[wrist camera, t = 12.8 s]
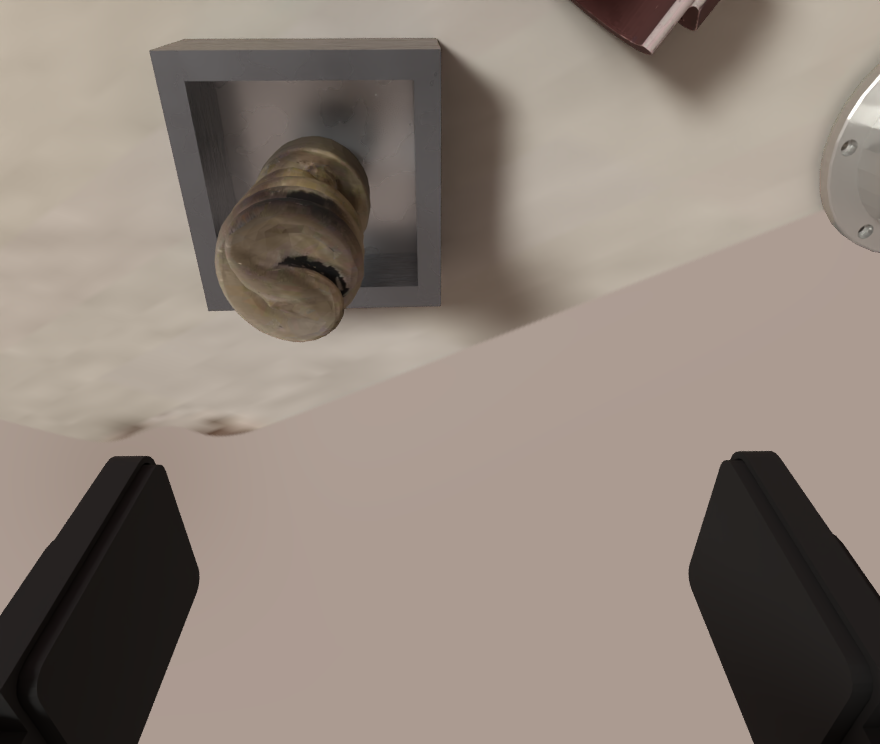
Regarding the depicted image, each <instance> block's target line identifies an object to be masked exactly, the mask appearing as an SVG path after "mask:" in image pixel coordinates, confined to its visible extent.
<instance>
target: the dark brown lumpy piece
mask: <svg viewBox="0 0 880 744" xmlns="http://www.w3.org/2000/svg"><path fill="white" fill-rule="evenodd" d="M571 1H572V2H573V3H574V4H576V5H577V6H578V7H579V8H580V9H582V10H583V11H584V12H585V13H586V14H588V15H589V16H590V17H591V18H593V19H594V20H595V21H596V22H598V23H599V24H600V25H602V26H603V27H604V28H606V29H607V30H608V31H610V32H611V33H612V34H614V35H615V36H616V37H618V38H619V39H621V40H622V41H624V42H625V43H627V44H628V45H630V46H632V47H633V48H635V49H637V50H639V51H640V52H643V53H645V54H648V55H652V54H653V53H654V52H655V50H656V49H657V48H658V46H659V45H660V44H661V43H662V41H663V40H664V39H665V37H666V36H667V35H668V34H669V32H670V31H671V30H672V29H673V27H674V26H675V25H676V23H677V22H678V23H680V24H681V25H683V26H684V27H686V28H688V29H689V30H692V31H696V30H697V28H698V27H699V26H700V25H701V23H702V22H703V21H704V20H705V18H706V17H707V16H708V15H709V13H710V12H711V11H712V10H713V8H714V7H715V6H716V5H717V3H718V2H719V1H720V0H571Z"/></svg>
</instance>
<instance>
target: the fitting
mask: <svg viewBox="0 0 880 744" xmlns="http://www.w3.org/2000/svg"><path fill="white" fill-rule="evenodd" d="M150 56H151V60H152V65H153V69H154V73H155V78H156V82H157V87H158V91H159V95H160V100H161V104H162V109H163V113H164V117H165V122H166V126H167V131H168V135H169V139H170V144H171V148H172V153H173V157H174V161H175V166H176V170H177V175H178V179H179V183H180V188H181V192H182V197H183V201H184V205H185V210H186V214H187V219H188V223H189V227H190V232H191V236H192V240H193V245H194V249H195V254H196V258H197V262H198V267H199V271H200V276H201V280H202V284H203V289H204V293H205V298H206V302H207V306H208V311H231V310H235V309H234V308H233V307H232V306H231V304H230V303H229V301H228V300H227V298H226V297H225V295H224V293H223V291H222V289H221V287H220V284H219V281H218V278H217V274H216V268H215V249H216V243H217V239H218V235H219V231H220V229H221V226H222V224H223V223H224V221H225V220H226V218H227V217H228V215H229V214H230V213H231V211H232V210H233V208H234V206H235V205H236V204H237V203H238V202H239V200H240V199H241V198H242V197H243V196H244V195H245V194H246V193H247V192H248V191H249V190H250V188H251V187H252V186H253V185H254V184H255V183H256V181H257V179H258V176H259V174H260V172H261V170H262V168H263V166H264V164H265V163H266V162H267V161H268V159H269V158H270V157H271V156H272V155H273V154H274V153H275V152H276V151H277V150H278V149H279V148H280V147H281V146H282V145H284V144H286V143H287V142H289V141H292V140H295V139H298V138H301V137H307V136H320V137H325V138H329V139H332V140H334V141H336V142H338V143H339V144H341V145H343V146H345V147H346V148H347V149H349V150H350V151H351V152H352V153H353V154H354V155H355V156H356V157H357V158H358V160H359V162H360V163H361V165H362V166H363V168H364V170H365V172H366V175H367V177H368V182H369V187H370V203H371V206H370V214H369V220H368V225H367V228H366V230H365V232H364V240H363V243H364V249H365V253H364V276H363V280H362V283H361V286H360V288H359V290H358V292H357V294H356V296H355V297H354V299H353V301H352V302H351V304H349V305H348V306H347V307H346V308H371V307H418V306H441V48H440V46H439V44H438V41H437V39H436V38H357V39H183V40H180V41H177V42H174V43H171V44H168V45H165V46H162V47H159V48H156V49H153V50H150Z"/></svg>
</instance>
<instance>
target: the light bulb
mask: <svg viewBox="0 0 880 744" xmlns="http://www.w3.org/2000/svg"><path fill="white" fill-rule="evenodd" d="M370 206H371V203H370V187H369V182H368V177H367V175H366V172H365V170H364V168H363V166H362V165H361V163H360V162H359V160H358V158H357V157H356V156H355V155H354V154H353V153H352V152H351V151H350V150H349V149H347V148H346V147H345V146H343V145H341V144H339V143H338V142H336V141H334V140H332V139H329V138H325V137H320V136H307V137H301V138H298V139H295V140H292V141H289V142H287V143H286V144H284V145H282V146H281V147H280V148H279V149H278V150H277V151H276V152H275V153H274V154H273V155H272V156H271V157H270V158H269V159H268V161H267V162H266V163H265V164H264V166H263V168H262V170H261V172H260V174H259V176H258V179H257V181H256V183H255V184H254V185H253V186H252V187H251V188H250V190H249V191H248V192H247V193H246V194H245V195H244V196H243V197H242V198H241V199H240V200H239V202H238V203H237V204H236V205H235V206H234V208H233V210H232V211H231V213H230V214H229V215H228V217H227V218H226V220H225V221H224V223H223V224H222V226H221V229H220V231H219V235H218V239H217V243H216V249H215V268H216V274H217V278H218V281H219V284H220V287H221V289H222V291H223V293H224V295H225V297H226V298H227V300H228V301H229V303H230V304H231V306H232V307H233V308H234V309H235V311H236V312H237V313H238V314H239V315H240V316H241V317H242V318H243V319H244V320H246V321H247V322H248V323H250V324H251V325H252V326H254V327H255V328H257V329H258V330H259V331H261V332H263V333H266V334H268V335H270V336H273V337H276V338H279V339H282V340H288V341H293V342H305V341H312V340H316V339H319V338H321V337H323V336H326V335H327V334H329V333H330V332H331V331H332V330H334V329H335V328H336V327H337V326H338V324H339V322H340V321H341V319H342V317H343V314H344V309H345V308H346V307H347V306H348V305H349V304H351V302H352V301H353V299H354V297H355V296H356V294H357V292H358V290H359V288H360V286H361V283H362V280H363V276H364V253H365V249H364V243H363V240H364V232H365V230H366V228H367V225H368V220H369V214H370Z"/></svg>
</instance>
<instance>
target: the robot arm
mask: <svg viewBox="0 0 880 744" xmlns="http://www.w3.org/2000/svg"><path fill="white" fill-rule="evenodd" d="M820 195H821V199H822V203H823V208H824V210H825V212H826V214H827V216H828V218H829V220H830V222H831V223H832V225H833V226H834V227H835V228H836V229H837V230H838V231H839V232H840V233H841V234H842V235H843V236H845V237H846V238H848V239H849V240H851V241H852V242H854V243H855V244H857V245H859V246H861V247H863V248H866V249H868V250H870V251H873V252H878V253H880V63H879V64H878V65H877V66H876V67H875V68H874V69H873V70H872V71H871V72H870V73H869V74H868V76H867V77H866V78H865V79H864V80H863V81H862V82H861V83H860V84H859V86H858V87H857V88H856V90H855V91H854V92H853V94H852V95H851V96H850V98H849V99H848V101H847V102H846V103H845V105H844V107H843V108H842V110H841V112H840V114H839V116H838V117H837V119H836V121H835V123H834V125H833V127H832V129H831V132H830V134H829V137H828V140H827V142H826V145H825V148H824V151H823V156H822V162H821V167H820ZM689 581H690V586H691V589H692V592H693V594H694V596H695V599H696V601H697V604H698V606H699V609H700V611H701V614H702V616H703V619H704V621H705V624H706V626H707V629H708V631H709V634H710V636H711V638H712V641H713V643H714V646H715V648H716V651H717V653H718V656H719V658H720V661H721V663H722V666H723V668H724V671H725V673H726V675H727V678H728V680H729V683H730V686H731V688H732V690H733V693H734V695H735V698H736V700H737V703H738V705H739V708H740V710H741V713H742V715H743V718H744V720H745V723H746V725H747V727H748V730H749V732H750V735H751V738H752V740H753V742H754V744H880V596H879V594H878V593H877V592H876V590H875V589H874V587H873V586H872V584H871V583H870V582H869V580H868V579H867V577H866V576H865V574H864V573H863V572H862V570H861V569H860V567H859V566H858V564H857V563H856V561H855V560H854V559H853V557H852V556H851V554H850V553H849V551H848V550H847V549H846V547H845V546H844V544H843V543H842V542H841V541H840V540H839V539H838V538H837V536H835V535H834V534H832V532H831V531H830V530H829V528H828V527H827V525H826V524H825V522H824V521H823V519H822V518H821V516H820V515H819V514H818V512H817V511H816V509H815V508H814V506H813V505H812V503H811V502H810V500H809V499H808V498H807V496H806V495H805V493H804V492H803V490H802V489H801V488H800V486H799V485H798V483H797V482H796V480H795V479H794V477H793V476H792V474H791V473H790V472H789V470H788V469H787V467H786V466H785V464H784V463H783V462H782V460H781V459H780V457H779V456H778V455H777V454H776V453H774V452H772V451H742V452H741V451H739V452H735V453H734V454H733V455H732V457H731V459H730V460H726V461H723V462H722V464H721V466H720V469H719V472H718V475H717V479H716V482H715V485H714V488H713V491H712V495H711V498H710V501H709V504H708V508H707V511H706V514H705V517H704V521H703V524H702V527H701V530H700V533H699V536H698V540H697V543H696V546H695V549H694V552H693V556H692V559H691V562H690V566H689ZM198 586H199V569H198V566H197V563H196V560H195V557H194V554H193V551H192V548H191V545H190V542H189V539H188V536H187V533H186V530H185V527H184V524H183V521H182V518H181V515H180V512H179V510H178V507H177V503H176V500H175V497H174V494H173V491H172V488H171V485H170V482H169V479H168V476H167V473H166V471H165V469H164V467H163V466H162V465H156V464H155V462H154V460H153V459H152V458H151V457H149V456H115V457H112V458H110V459H109V461H108V462H107V463H106V464H105V466H104V467H103V469H102V470H101V472H100V473H99V475H98V476H97V478H96V479H95V481H94V482H93V484H92V485H91V487H90V488H89V490H88V491H87V493H86V494H85V495H84V497H83V498H82V500H81V502H80V503H79V504H78V506H77V507H76V509H75V511H74V512H73V513H72V515H71V516H70V518H69V519H68V521H67V522H66V524H65V525H64V527H63V528H62V530H61V531H60V533H59V534H58V536H57V537H56V539H55V540H54V541H52V542H51V543H50V545H49V546H48V547H47V548H46V549H45V551H44V552H43V553H42V555H41V557H40V558H39V559H38V561H37V562H36V564H35V565H34V567H33V568H32V570H31V572H30V573H29V574H28V576H27V577H26V579H25V580H24V581H23V583H22V584H21V586H20V588H19V589H18V591H17V592H16V593H15V595H14V597H13V598H12V599H11V601H10V602H9V604H8V605H7V607H6V608H5V609H4V611H3V612H2V614H1V615H0V744H138V742H139V739H140V737H141V734H142V732H143V729H144V726H145V724H146V721H147V719H148V716H149V713H150V711H151V708H152V706H153V703H154V701H155V698H156V696H157V693H158V690H159V688H160V685H161V683H162V680H163V678H164V675H165V672H166V670H167V667H168V665H169V662H170V660H171V657H172V655H173V652H174V649H175V647H176V644H177V642H178V639H179V637H180V634H181V631H182V628H183V626H184V624H185V621H186V618H187V616H188V614H189V611H190V608H191V606H192V603H193V601H194V598H195V596H196V593H197V590H198Z"/></svg>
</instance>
